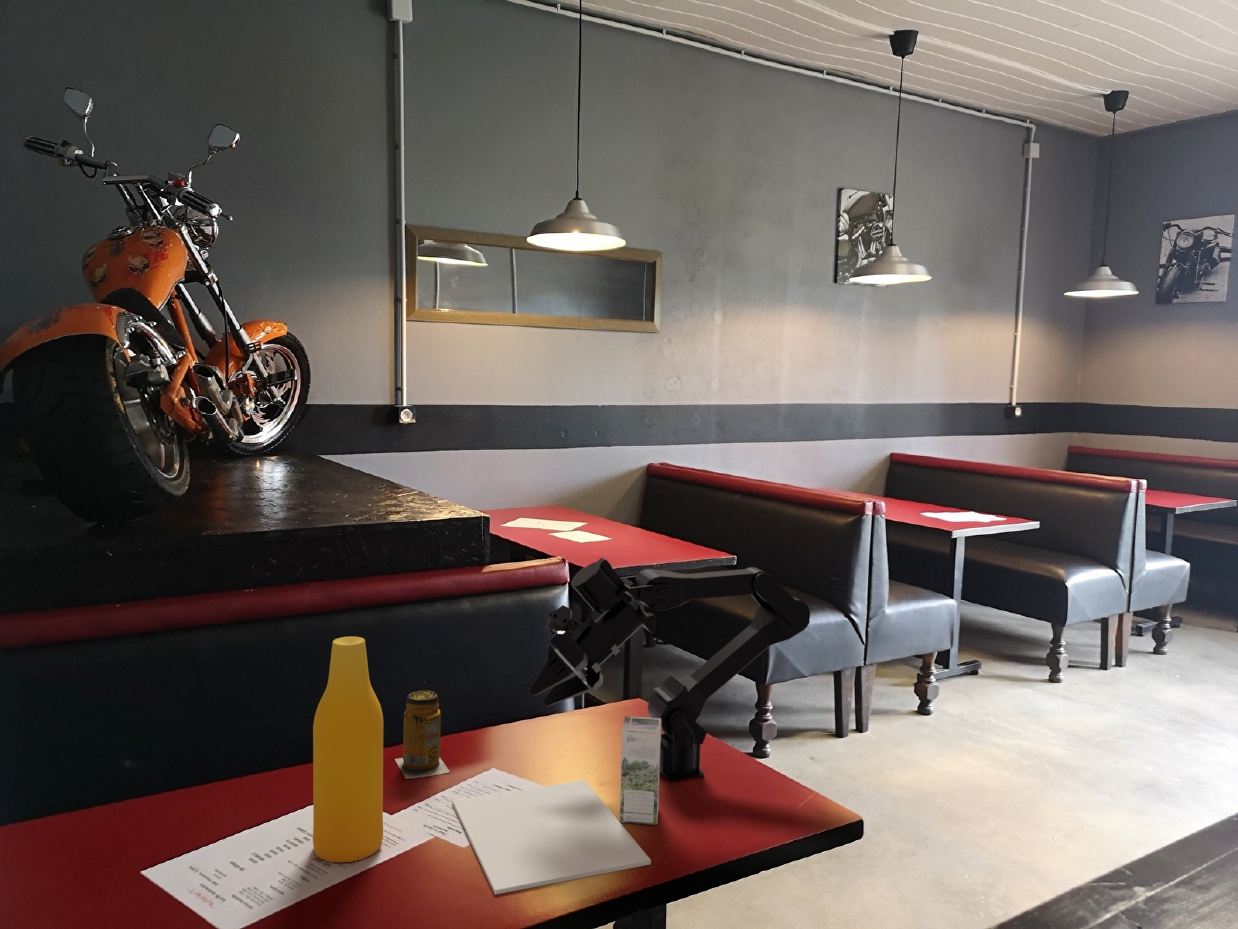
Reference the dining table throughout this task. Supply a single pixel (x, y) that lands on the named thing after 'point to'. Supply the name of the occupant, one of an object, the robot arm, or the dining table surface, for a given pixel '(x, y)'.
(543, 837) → the mat
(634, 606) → the robot arm
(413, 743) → the condiment
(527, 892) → the dining table surface
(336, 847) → the beer bottle
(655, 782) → the syrup box
